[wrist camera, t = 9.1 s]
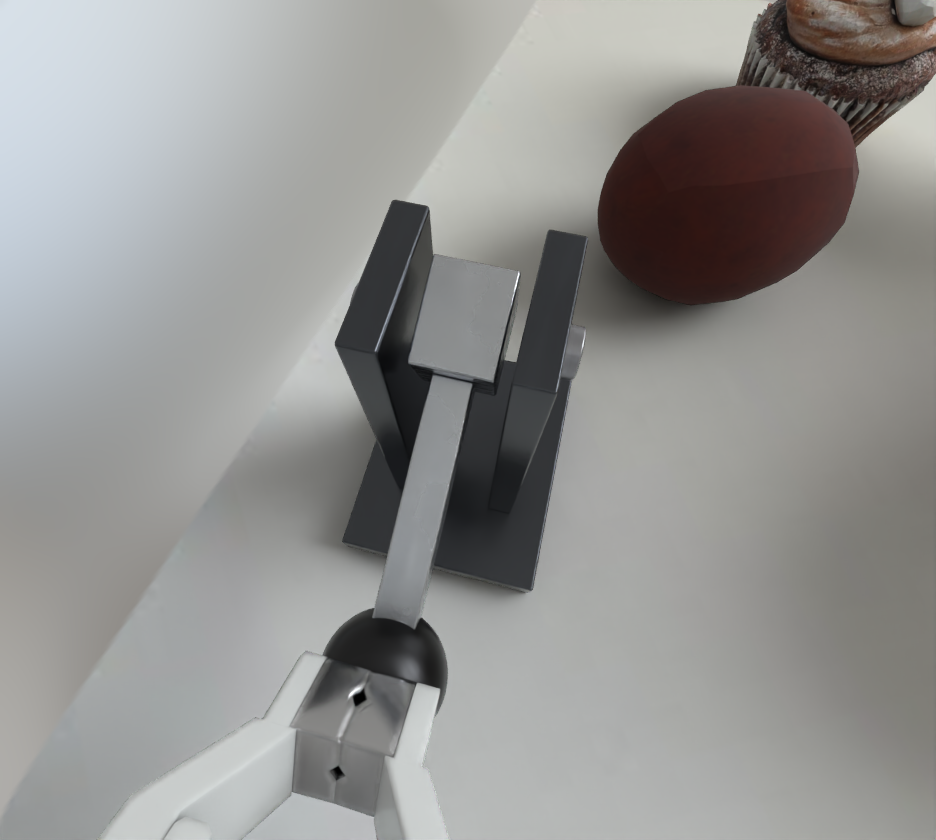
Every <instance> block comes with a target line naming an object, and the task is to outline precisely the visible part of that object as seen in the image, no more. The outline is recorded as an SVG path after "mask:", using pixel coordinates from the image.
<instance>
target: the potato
mask: <svg viewBox="0 0 936 840" xmlns="http://www.w3.org/2000/svg"><path fill="white" fill-rule="evenodd" d="M858 174H859V168H858V162H857V156H856V149H855V145H854V141H853V138H852V134H851V131H850V128H849V124H848V123H847V122H846V121H845V120H844V119H843V118H842V117H841V116H840V115H839V114H838V113H837V112H836V111H835V110H834V109H832V108H831V107H829V106H828V105H826V104H825V103H823V102H822V101H820V100H819V99H817V98H816V97H814V96H813V95H811V94H810V93H808V92H807V91H801V90H792V89H783V88H770V87H757V86H744V85H740V86H733V87H726V88H719V89H712V90H705V91H703V92H700V93H698V94H695V95H693V96H691V97H688V98H686V99H683V100H681V101H678V102H677V103H675V104H674V105H672V106H671V107H669V108H668V109H667V110H665V111H664V112H662V113H661V114H659V115H658V116H657V117H655V118H654V119H653V120H651V121H650V122H648V123H647V124H646V125H644V126H643V127H642V128H640V129H639V130H638V131H636V132H635V133H634V134H633V135H632V136H631V137H630V139H629V140H628V141H627V142H626V144H625V145H624V146H623V147H622V149H621V150H620V152H619V153H618V155H617V157H616V159H615V160H614V162H613V164H612V166H611V167H610V169H609V171H608V173H607V175H606V178H605V181H604V184H603V188H602V191H601V195H600V200H599V206H598V228H599V234H600V241H601V243H602V246H603V249H604V251H605V253H606V254H607V256H608V257H609V259H610V260H611V262H612V263H613V264H614V266H615V267H616V268H617V269H618V270H619V271H620V272H621V273H622V274H623V275H624V276H625V277H626V278H628V279H629V280H630V281H631V282H633V283H634V284H636V285H637V286H639V287H640V288H642V289H644V290H646V291H648V292H651V293H653V294H655V295H657V296H660V297H662V298H664V299H667V300H670V301H675V302H679V303H684V304H688V305H695V304H705V303H714V302H723V301H729V300H735V299H739V298H741V297H744V296H746V295H748V294H751V293H753V292H755V291H758V290H760V289H762V288H765V287H767V286H770V285H772V284H774V283H777V282H779V281H780V280H782V279H784V278H785V277H787V276H789V275H790V274H792V273H794V272H795V271H797V270H798V269H800V268H801V267H802V266H803V265H804V264H805V263H806V262H807V261H809V260H810V259H811V258H812V257H813V256H814V255H815V254H817V253H818V252H819V251H820V250H821V249H822V248H823V247H824V246H826V245H827V244H828V243H829V242H830V241H831V239H832V238H833V237H834V235H835V234H836V233H837V232H838V230H839V229H840V228H841V226H842V225H843V224H844V223H845V220H846V216H847V213H848V210H849V207H850V204H851V201H852V198H853V195H854V191H855V187H856V182H857V178H858Z"/></svg>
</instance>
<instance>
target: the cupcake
mask: <svg viewBox="0 0 936 840" xmlns="http://www.w3.org/2000/svg"><path fill="white" fill-rule="evenodd" d="M935 74H936V0H778V1H776V2H775V3H774V4H771V3H769V4H768V7H767V10H766V9H764V11H763V13H762V15H761V14H758V16H757V20H756V22H754V23H753V27H752V30H751V34H750V38H749V41H748V46H747V50H746V54H745V58H744V61H743V64H742V67H741V70H740V73H739V77H738V80H737V84H736V86H740V85H744V86H757V87H770V88H783V89H792V90H801V91H807V92H808V93H810V94H811V95H813V96H814V97H816V98H817V99H819V100H820V101H822V102H823V103H825V104H826V105H828V106H829V107H831V108H832V109H834V110H835V111H836V112H837V113H838V114H839V115H840V116H841V117H842V118H843V119H844V120H845V121H846V122H847V123H848V124H849V128H850V131H851V134H852V138H853V141H854V145H855V148H856V147H857V146H858V145H859V144H860V143H861V142H862V141H863V140H864V139H865V138H866V137H867V136H868V135H869V134H871V133H872V132H873V131H874V130H875V129H876V128H877V127H879V126H880V125H881V124H882V123H883V122H885V121H886V120H887V119H888V118H890V117H891V116H892V115H893V114H895V113H896V112H897V111H899V110H900V109H901V108H903V107H904V106H905V105H907V104H908V103H909V102H910V101H911V100H913V99H914V98H915V97H916V96H918V95H919V94H920V93H921V92H922V91H924V87H925V86H926V85H927V84H928V82H929V81H930V80H931V79H932V77H933V76H934V75H935Z"/></svg>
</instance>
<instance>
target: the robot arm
mask: <svg viewBox="0 0 936 840" xmlns="http://www.w3.org/2000/svg"><path fill="white" fill-rule="evenodd" d="M439 695H440V689H439V688H435V687H432V686H428V685H424V684H421V683H417V682H416V681H412V680H408V679H405V678H401V677H397V676H393V675H389V674H386V673H382V672H378V671H374V670H372V671H371V670H367V669H364V668H361V667H358V666H355V665H351V664H348V663H345V662H342V661H339V660H335V659H332V658H329V657H325V656H322V655H319V654H315V653H312V652H308V651H305V652H304V653H303V654H302V655H301V656H300V657H299V659H298V660H297V662H296V664H295V665H294V667H293V669H292V670H291V672H290V674H289V675H288V677H287V679H286V680H285V682H284V684H283V685H282V687H281V689H280V690H279V692H278V694H277V695H276V697H275V699H274V700H273V702H272V704H271V705H270V707H269V709H268V710H267V712H266V714H265V715H264V717H263V719H260V718H256V717H255V718H253V719H252V720H250V721H249V722H247V723H245V724H244V725H242V726H241V727H239V728H237V729H236V730H234V731H233V732H231V733H229V734H228V735H226V736H225V737H223V738H221V739H220V740H218V741H216V742H215V743H213V744H212V745H210V746H208V747H207V748H205V749H204V750H202V751H200V752H199V753H197V754H196V755H194V756H192V757H191V758H189V759H188V760H186V761H184V762H183V763H181V764H180V765H178V766H176V767H175V768H173V769H172V770H170V771H168V772H167V773H165V774H163V775H162V776H160V777H159V778H157V779H155V780H154V781H152V782H151V783H149V784H147V785H146V786H144V787H143V788H141V789H139V790H138V791H136V792H135V793H133V794H131V795H130V796H129V797H128V799H127V800H126V801H125V803H124V804H123V805H122V807H121V808H120V809H119V811H118V812H117V813H116V815H115V816H114V817H113V819H112V820H111V821H110V823H109V824H108V825H107V827H106V828H105V829H104V831H103V832H102V833H101V835H100V836H99V837H98V839H97V840H242V839H243V838H244V837H245V836H246V835H247V834H248V833H250V832H251V831H252V830H253V829H254V828H255V827H256V826H257V825H259V824H260V823H261V822H262V821H263V820H264V819H265V818H266V817H268V816H269V815H270V814H271V813H272V812H273V811H274V810H275V809H276V808H278V807H279V806H280V805H281V804H282V803H283V802H284V801H285V800H287V799H288V798H289V797H290V796H291V792H294V793H298V794H301V795H305V796H309V797H312V798H316V799H320V800H323V801H327V802H331V803H334V804H337V805H340V806H343V807H346V808H349V809H352V810H355V811H358V812H360V813H363V814H366V815H369V816H372V817H374V824H375V830H376V837H377V840H450V839H449V835H448V832H447V829H446V825H445V822H444V819H443V815H442V812H441V809H440V805H439V802H438V799H437V795H436V792H435V789H434V785H433V782H432V778H431V775H430V772H429V768H426V767H423V765H424V761H425V757H426V753H427V748H428V744H429V739H430V735H431V730H432V726H433V721H434V717H435V713H436V708H437V704H438V699H439Z"/></svg>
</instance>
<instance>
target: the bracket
mask: <svg viewBox="0 0 936 840" xmlns="http://www.w3.org/2000/svg"><path fill="white" fill-rule="evenodd" d="M587 242H588V237H586V236H581V235H576V234H571V233H566V232H560V231H555V230H549V231H548V232H547V237H546V241H545V245H544V249H543V253H542V258H541V262H540V266H539V270H538V274H537V279H536V283H535V287H534V291H533V295H532V300H531V304H530V308H529V312H528V316H527V320H526V325H525V329H524V333H523V337H522V341H521V346H520V350H519V354H518V358H517V362H516V363H515V362H510V361H506V360H504V365H503V369H502V373H501V377H500V382H499V386H498V390H497V394H496V396H491V395H487V394H482V393H478V392H475V394H474V398H473V402H472V407H471V411H470V415H469V419H468V424H467V428H466V432H465V436H464V440H463V445H462V449H461V453H460V457H459V461H458V466H457V470H456V474H455V478H454V482H453V487H452V491H451V495H450V499H449V503H448V508H447V512H446V516H445V520H444V524H443V529H442V533H441V537H440V541H439V545H438V550H437V554H436V558H435V562H434V567H433V569H437V570H441V571H445V572H449V573H453V574H456V575H460V576H464V577H468V578H472V579H476V580H480V581H484V582H487V583H491V584H495V585H499V586H503V587H507V588H511V589H515V590H519V591H522V592H526V593H529V592H530V591H532V590H533V585H534V580H535V574H536V569H537V564H538V558H539V553H540V548H541V542H542V537H543V532H544V526H545V521H546V516H547V510H548V505H549V500H550V494H551V489H552V484H553V478H554V473H555V468H556V462H557V457H558V452H559V446H560V441H561V436H562V430H563V425H564V420H565V414H566V409H567V404H568V398H569V393H570V388H571V382H572V380H573V379H574V378H575V376H576V373H577V371H578V368H579V364H580V361H581V357H582V353H583V349H584V344H585V338H586V328H585V327H582V326H578V325H573V324H572V318H573V313H574V308H575V303H576V298H577V293H578V288H579V283H580V278H581V273H582V268H583V263H584V258H585V253H586V247H587ZM432 258H433V249H432V236H431V224H430V211H429V207H427V206H425V205H420V204H414V203H409V202H404V201H399V200H393V201H392V202H391V205H390V207H389V210H388V213H387V215H386V218H385V220H384V222H383V225H382V227H381V230H380V232H379V235H378V237H377V239H376V242H375V244H374V247H373V249H372V252H371V254H370V257H369V259H368V262H367V264H366V267H365V269H364V272H363V274H362V277H361V279H360V281H359V283H358V284H357V286H356V287H355V289H354V292H353V295H352V298H351V302H350V306H349V309H348V311H347V314H346V316H345V318H344V321H343V323H342V326H341V328H340V331H339V333H338V336H337V338H336V341H335V347H336V349H337V351H338V353H339V356H340V358H341V360H342V362H343V365H344V367H345V369H346V371H347V374H348V376H349V378H350V380H351V383H352V385H353V387H354V390H355V392H356V394H357V396H358V399H359V401H360V403H361V405H362V408H363V410H364V412H365V414H366V417H367V419H368V421H369V423H370V426H371V428H372V430H373V432H374V435H375V437H376V439H377V440H376V442H375V445H374V448H373V451H372V454H371V457H370V460H369V463H368V466H367V469H366V472H365V475H364V478H363V481H362V484H361V487H360V490H359V493H358V496H357V499H356V502H355V505H354V507H353V510H352V513H351V516H350V519H349V522H348V525H347V528H346V531H345V534H344V537H343V540H342V542H343V543H345V544H346V545H347V546H348V547H352V548H356V549H359V550H363V551H367V552H371V553H375V554H379V555H383V556H387V555H388V551H389V547H390V543H391V538H392V534H393V530H394V526H395V522H396V518H397V514H398V510H399V506H400V502H401V498H402V494H403V490H404V485H405V481H406V477H407V473H408V469H409V465H410V461H411V457H412V453H413V449H414V445H415V441H416V437H417V432H418V428H419V424H420V420H421V416H422V412H423V408H424V404H425V400H426V396H427V392H428V388H429V383H430V382H429V381H425V380H422V379H421V378H420V377H419V375H418V374H417V373H416V372H415V371H414V370H413V369H412V368H411V366H410V365H409V364H408V363H407V358H408V354H409V350H410V346H411V342H412V338H413V334H414V330H415V326H416V322H417V318H418V314H419V310H420V306H421V302H422V298H423V294H424V290H425V286H426V282H427V278H428V274H429V270H430V266H431V262H432Z"/></svg>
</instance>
